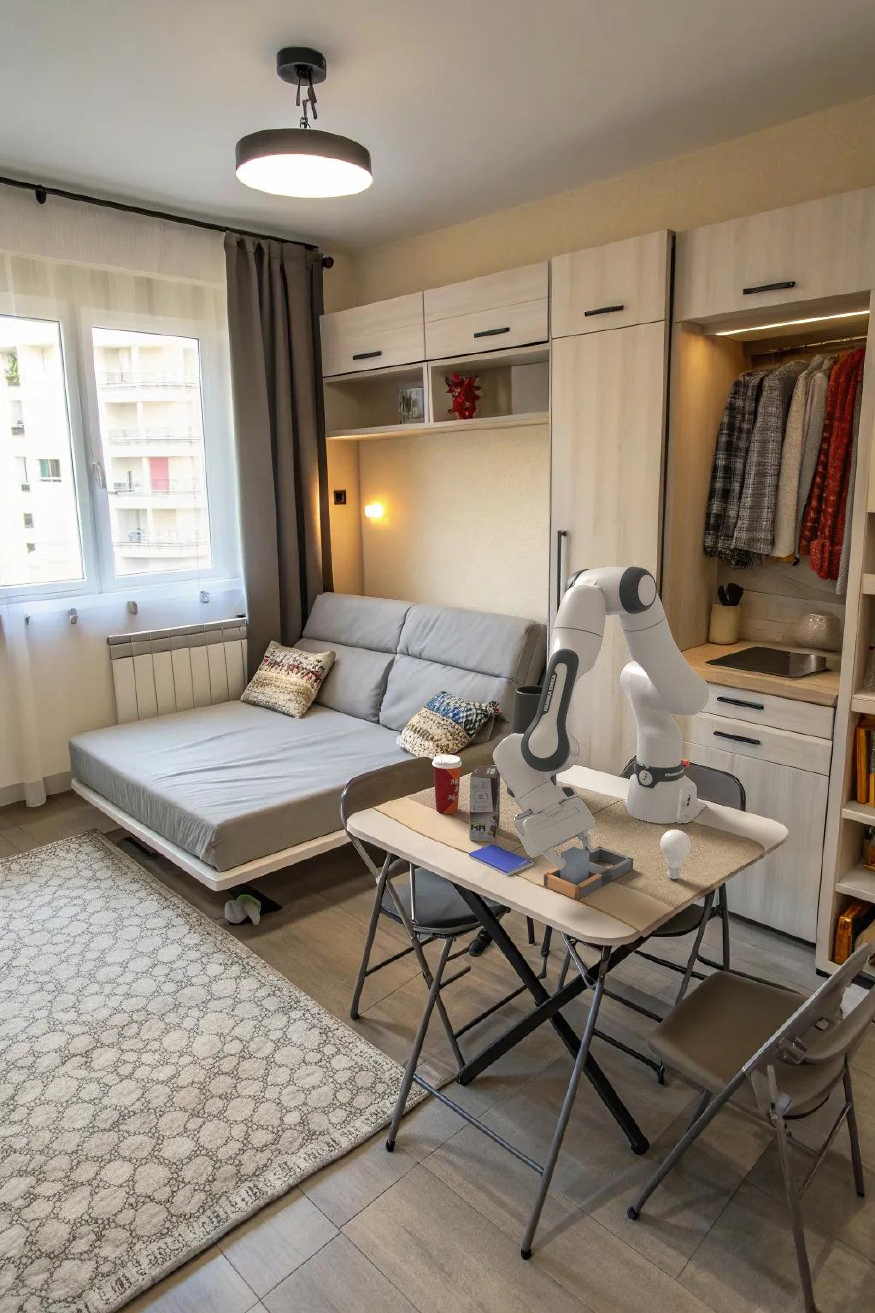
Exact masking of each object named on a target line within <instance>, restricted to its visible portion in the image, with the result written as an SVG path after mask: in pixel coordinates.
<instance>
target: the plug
mask: <svg viewBox="0 0 875 1313" xmlns="http://www.w3.org/2000/svg"><path fill="white" fill-rule="evenodd" d="M563 857H564V859H565V862H567V866H566V867H565V868H563V869H561V870H560V879H563V880H565V881H567V882H570V883H572V884H575V885H577V886H578V884H580V883H581V882H583V881H585V880H587V879H588V873H589V852H587V851H584V850H582V848H578V847H576V846H572V847H570V848H568V849H566V850H565V851H562V852H560V858H563Z"/></svg>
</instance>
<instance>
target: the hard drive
mask: <svg viewBox="0 0 875 1313" xmlns="http://www.w3.org/2000/svg"><path fill="white" fill-rule="evenodd" d="M468 858H469V859H472V860H473V861H475V862H477V863H479V864H482V865H484V866H486V867H488V868H490V869H492V870H495V871H496V872H498V873H501V874H503V875H505V876H507V877H509V876H512V875H514V874H516V873H518V872H520V871H524V870H525V869H527V868H529V867H532V866H534V861H532V860H531V859H529V858H526V857H523V856H521V855H520V854H517V853H515V852H513V851H510V850H508V849H506V848H504V847H501V846H499V845H497V844H494V843H492V844H489V845H486V846H484V847H481V848H479V849H476V850H473V851H470V852H469V853H468Z"/></svg>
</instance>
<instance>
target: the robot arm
mask: <svg viewBox="0 0 875 1313" xmlns="http://www.w3.org/2000/svg"><path fill="white" fill-rule="evenodd" d="M660 598H661V597H660V596H659V594H658V587H657V583H656V580H655V578H654V576H653V575H652V573H651V572H650V571H649V570H648V569H646V568H643V567H638V566H630V567H628V566H616V565H615V566H614V565H613V566H606V567H597V568H592V569H589V568H584V569H580V570H578V571H575V572H574V573H572V574H570V575H569V577H568V580H567V581H566V583H565V585H564V595H563V597H562V599H561V602H560V604H559V607H558V610H557V614H556V617H555V620H554V625H553V628H552V629H553V630H552V634H551V639H550V640H551V641H550V647H549V657H548V663H547V670H546V674H545V677H544V681H543V685H542V686H543V689H542V693H541V697H540V701H539V705H538V709H537V713H536V715H535V718H534V720H533V721H532V723H531V724H530V726H529V727H528V729H527V730H526V732H525V733H524V734H517V733H513V734H511V733H510V734H508V735H507V736H505V737H504V738H502V739H501V741H500V742H498V743H497V745H496V746H495V748H494V749H493V753H492V758H493V763H494V766H496V767H497V770H498V772H499V773H500V778H501V779H502V780H503V782H504V784H505V785H506V788H507V787H508V788H509V789H510V790H511V791H512V792H513V794H514V796H515V797H514V798H515V802H516V803H517V805H518V806H519V808H520V811H522V812H521V813H517V814H516V815H515V816H514V819H513V826H514V828H515V829H516V832H517V836H518V837H519V839H520V840H519V841H520V842H521V844H522V847H523V848H524V850H525V851H526V854H527V855H528V856H529V857H530V858H536V857H538V856H541V855H542V854H543V855H544V857H545V859H547V860H548V861H550V862H551V863H552V864H554V866H555V867H557V869H558V870H561V869H563V868H565V867H566V866H567V862H565V859H564V857H563V858H561V856H559V855H558V854H557V853H556V849H555V848H556V847H558V846H560V845H563V844H565V843H567V842H569V841H571V840H573V839H576V838H577V839H578V841H581V844H582V847H583V848H581V850H584V851H587V852H589V855H590V854H592V853H593V852H594V849H595V848H594V847H593V845H592V844H591V837H590V836H591V835H590V833H589V831H590V830H592V829H593V828H594V827H595V825H596V821H595V818H594V816H593V814H592V813H591V811H590V809H589V808H588V806H587V805H586V803H585V802H584V801H583V800H582V799H581V798H579V797H578V796H577V795H578V792H577V790H576V788H575V787H573V786H565V785H564V786H563V785H558V784H557V785H556V786H554V784H553V783H552V781H551V780H550V777H551V776H553V775H556V776H557V775H558V774H561V773H564V772H566V771H568V770H570V769H571V768H572V767H574V765H576V763H577V762H578V759H579V758H580V745H579V743H578V739H576V737H575V736H574V735H573V734H571V733H570V732H569V731H568V730H567V720H568V716H569V712H570V708H571V703H572V698H573V694H574V690H575V687H576V686H577V685H576V684H577V683H578V681H579V680H580V679H581V678H582V676H584V675H585V674H587V673H589V672H590V671H591V670H593V668H595V666H596V663H597V661H598V658H599V655H600V652H601V649H602V645H603V640H604V636H605V635H604V633H605V626H606V616H612V615H615V616H616V618H617V621H618V625H619V628H620V631H621V634H622V638H623V640H624V643H625V647H626V650H627V652H628V654H629V656H630V658H632V661H631V662H628V663H627V664H626V665H625V666H624V667H623V668H622V671H621V672H620V677H619V686H620V689H621V691H622V692H623V694H624V695H625V697H626V698H627V700H628V702H629V704H630V706H631V709H632V713H633V716H634V720H635V725H636V757H635V758H634V762H633V774H632V775H630V778H629V782H628V783H629V786H628V793H627V798H625V799H623V805H624V807H626V811H627V813H628V814H629V815H630V816H631V817H632V818H634V819H637V820H639V819H640V821H643V820H644V821H643V822H646V821H647V823H652V822H653V823H654V824H675V823H674V822H677V823H676V824H681V823H688V822H690V821H691V820H692V819H693V820H694V819H695V818H696V817H697V816H698V815H699V814H700V813H701V812H702V811H703V810H704V809H705V808H706V806H705V805H707V804H706V801H704V800H703V799H700V798H698V797H697V793H698V792H697V791H698V788H697V784H696V783H695V782H693V780H691V779H690V778H689V777H687V775H686V774H685V773H686V772H685V768H686V769H688V768H689V766H690V764H691V762H690V760H688V759H684V758H683V757H682V753H683V741H684V740H683V737H684V736H683V732H682V729H681V728H680V726H679V725H678V723H677V722H676V721H675V719H674V717H673V715H679V716H680V715H681V716H696V715H698V714H700V713H701V712H703V710H704V709H705V707H706V706H707V704H708V702H709V698H710V688H709V684H708V682H707V681H706V680H705V678H703V677H702V676H700V675H699V674H698V673H697V672H696V671H695V669H694V668H693V667H692V666H691V665H690V664H689V662H688V661H687V660H686V658H685V656H684V655H683V653H682V652H681V650H680V649H679V647H678V646H677V644H676V641H675V640H674V639H675V638H674V637H673V634H672V631H671V628H670V625H669V621H668V619H667V615H666V613H665V612H666V611H665V609H664V605H663V603H662V600H661V599H660ZM704 807H705V808H704ZM703 808H704V809H703ZM702 809H703V810H702ZM701 810H702V811H701ZM700 811H701V812H700ZM699 812H700V813H699ZM698 813H699V814H698ZM697 814H698V815H697ZM696 815H697V816H696ZM695 816H696V817H695ZM694 817H695V818H694ZM693 820H692V821H693ZM692 821H691V822H692ZM691 822H690V823H691ZM688 824H689V823H688Z"/></svg>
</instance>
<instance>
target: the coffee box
mask: <svg viewBox="0 0 875 1313" xmlns="http://www.w3.org/2000/svg"><path fill="white" fill-rule="evenodd" d="M469 778H470V779H469V780H470V783H469V832H468V833H469V834H468V835H469V836H468V838H469V840H470V841H476V842H486V843H487V842H488V843H494V842H495V841H496V839H497V836H498V832H499V830H500V818H501V817H500V816H501V814H500V813H501V812H500V811H501V810H500V809H501V806H500V804H501V801H500V800H501V775H500V773H499V772H498V770H497V767H496V765H488V764H487V765H486V764H484V765H482V764H481V765H480V764H475V766H474V768H473V770H472V772H471V774H470V777H469Z"/></svg>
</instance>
